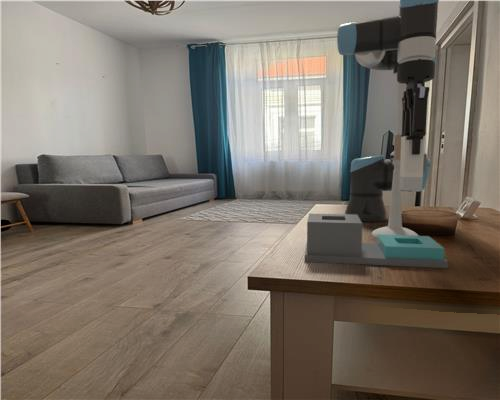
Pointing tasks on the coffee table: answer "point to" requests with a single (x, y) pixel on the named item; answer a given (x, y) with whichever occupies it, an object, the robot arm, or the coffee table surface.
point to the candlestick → (395, 199)
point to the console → (366, 245)
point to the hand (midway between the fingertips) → (411, 169)
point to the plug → (411, 178)
